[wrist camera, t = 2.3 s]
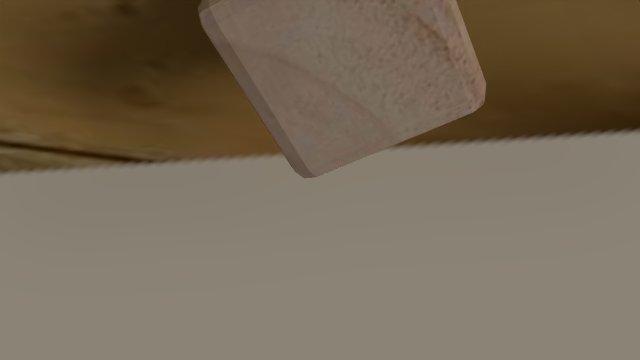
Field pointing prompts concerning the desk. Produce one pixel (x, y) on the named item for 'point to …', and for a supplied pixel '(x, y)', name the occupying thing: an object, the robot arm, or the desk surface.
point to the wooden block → (346, 71)
